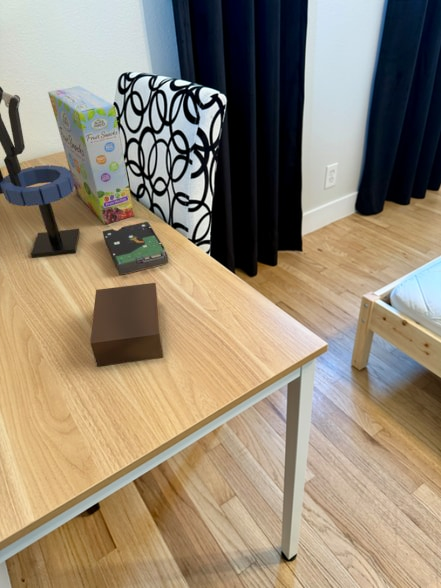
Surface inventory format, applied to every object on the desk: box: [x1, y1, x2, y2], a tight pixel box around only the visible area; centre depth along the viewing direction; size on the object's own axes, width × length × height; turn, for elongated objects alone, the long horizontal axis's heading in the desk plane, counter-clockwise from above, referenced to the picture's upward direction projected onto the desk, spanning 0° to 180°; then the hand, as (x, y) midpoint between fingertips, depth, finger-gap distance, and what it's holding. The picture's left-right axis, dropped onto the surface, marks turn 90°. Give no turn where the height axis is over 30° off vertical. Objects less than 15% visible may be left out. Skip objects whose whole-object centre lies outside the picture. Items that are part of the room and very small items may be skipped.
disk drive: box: [102, 221, 169, 276], centre depth 89 cm, size 10×3×15 cm
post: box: [30, 203, 81, 259], centre depth 90 cm, size 9×9×13 cm
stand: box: [89, 282, 164, 367], centre depth 69 cm, size 10×13×5 cm
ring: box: [0, 164, 75, 207], centre depth 85 cm, size 13×13×3 cm
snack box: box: [47, 85, 136, 225], centre depth 101 cm, size 22×9×26 cm, turn 33°
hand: (10, 189), depth 85 cm, fingers closed on ring, 2 cm apart
